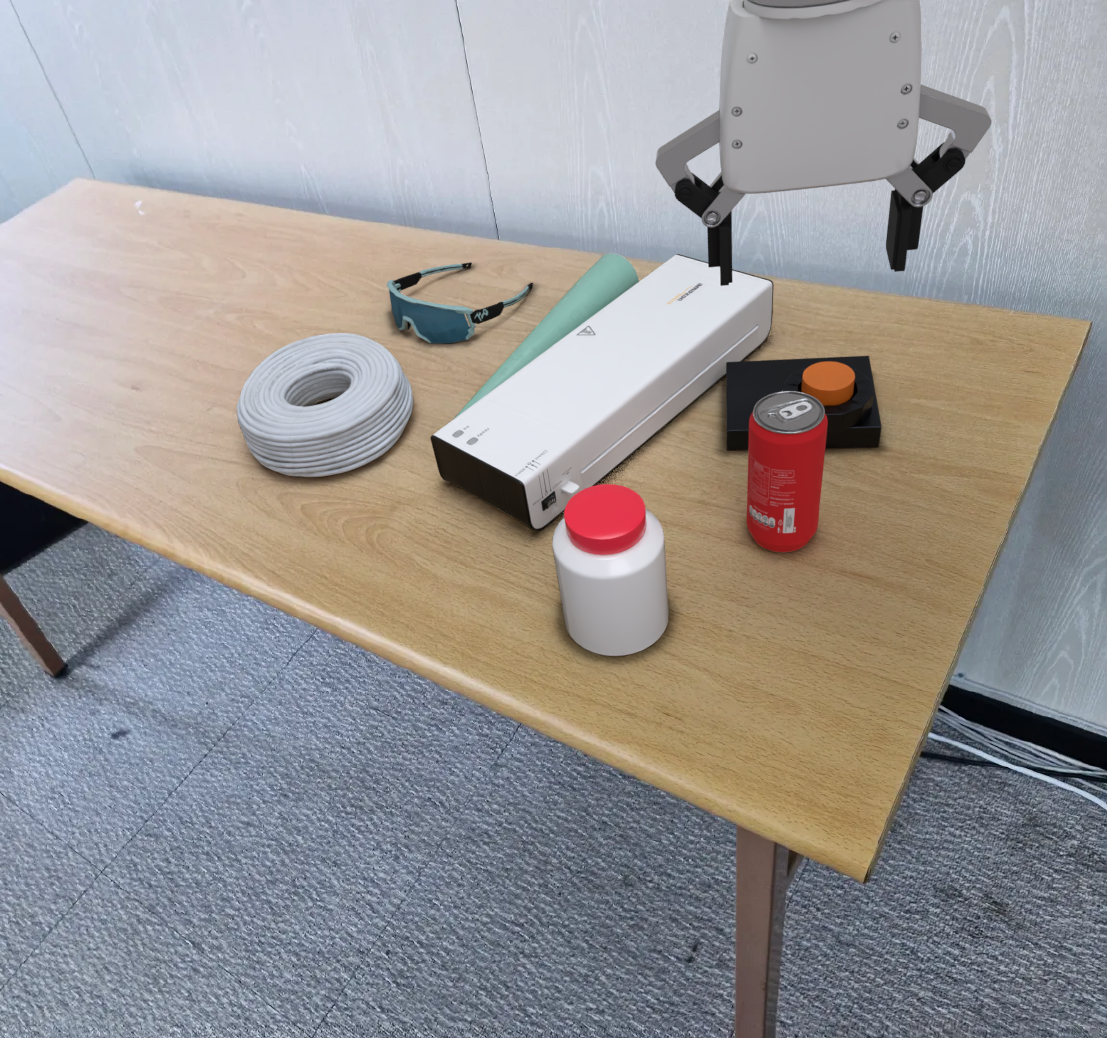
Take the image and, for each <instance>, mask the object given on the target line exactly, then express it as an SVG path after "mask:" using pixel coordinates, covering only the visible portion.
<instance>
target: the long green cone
mask: <svg viewBox="0 0 1107 1038" xmlns="http://www.w3.org/2000/svg"><path fill="white" fill-rule="evenodd" d="M639 281H640V279H639V275H638V273H637V270H636V268H635V267H634V265H633V264H632V263H631V262H630V261H629V260H628V259H627V258H625V257H624V256H623V255H620V254H618V253H613V252H609V253H605V254H603V255H602V256H601V257H600V258H599V259H598V260H597V261H595V263H594V264H593V265H592V266H591V267H590V268H589V269H588V270H587V271H585V272H584V274H583V275H582V276H581V277H580V278H579V279H578V280H577V281H576V282H575V283H574V284H573V285H572V287H571V288H570V289H569V290H568V291H567V292H566V293H565V294H564V295H563V296H562V297H561V299H560V300H558V302H557V303H555V305H554V306H553V308H551V310H550V311H549V312H548V313H547V314H546V315H545V316H544V317H543V319H541V321H540V322H539V323H538V324H537V325H536V326H535V328H533V330H532V331H531V332H530V333H529V334H528V335H527V336H526V337H525V338H524V339H523V340H522V342H521V343H520V344H519V345H518V346H517V347H516V348H515V350H514V351H513V352H512V353H511V354H510V355H509V356H508V357H507V359H506V360H505V361H503V363H502V364H501V365H500V366H499V367H498V368H497V369H496V370H495V372H494V373H493V374H491V376H490V377H489V378H488V380H487V381H486V382H484V384H483V385H482V386H481V387H480V388H479V390H478V391H477V392H476V393H475V394H474V395H472V397H471V398H470V399H469V400H468V402H467V403H465V405H464V406H463V407H462V408H461V409H460V411H459V412H458V413H457V414H456V415H455V416H454V417H453V419H455V418H456V417H457V416H459V415H460V414H461V413H463V412H464V411H465V410H467V409H468V408H469V407H471V406H472V405H473V404H475V403H476V402H478V401H479V400H480V399H482V398H483V397H484V396H486V395H487V394H488V393H490V392H491V391H492V390H494V389H495V388H496V387H498V386H499V385H500V384H502V383H503V382H504V381H506V380H507V379H509V378H510V377H511V376H513V375H514V374H515V373H517V372H518V371H519V370H521V369H522V368H523V367H525V366H526V365H527V364H529V363H530V362H531V361H533V360H534V359H535V358H537V357H538V356H540V355H541V354H542V353H544V352H545V351H546V350H548V349H549V348H550V347H552V346H553V345H554V344H556V343H557V342H558V341H560V340H561V339H562V338H564V337H565V336H566V335H568V334H569V333H571V332H572V331H573V330H575V329H576V328H577V327H579V326H580V325H581V324H583V323H584V322H585V321H587V320H588V319H589V318H591V317H592V316H593V315H595V314H596V313H597V312H599V311H600V310H602V309H603V308H604V307H606V306H607V305H608V304H610V303H611V302H612V301H614V300H615V299H616V298H618V297H619V296H620V295H622V294H623V293H624V292H626V291H627V290H628V289H630V288H631V287H633V286H634V285H635V284H637V283H638V282H639Z"/></svg>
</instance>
